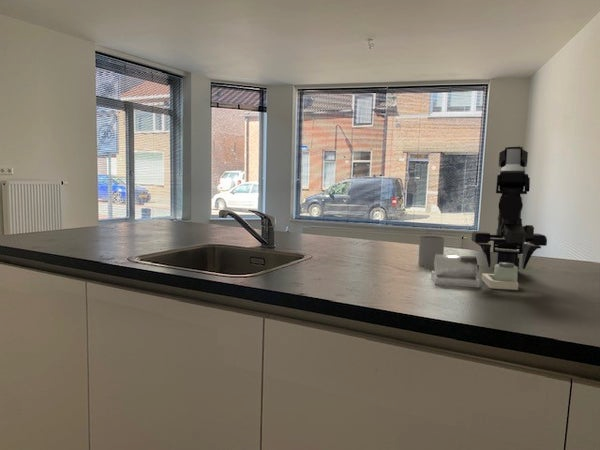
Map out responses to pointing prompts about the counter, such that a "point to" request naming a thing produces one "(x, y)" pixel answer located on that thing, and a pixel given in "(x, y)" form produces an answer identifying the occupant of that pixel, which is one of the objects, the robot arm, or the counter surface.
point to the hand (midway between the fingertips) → (506, 267)
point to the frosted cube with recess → (505, 272)
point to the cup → (430, 249)
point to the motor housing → (455, 271)
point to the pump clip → (498, 283)
